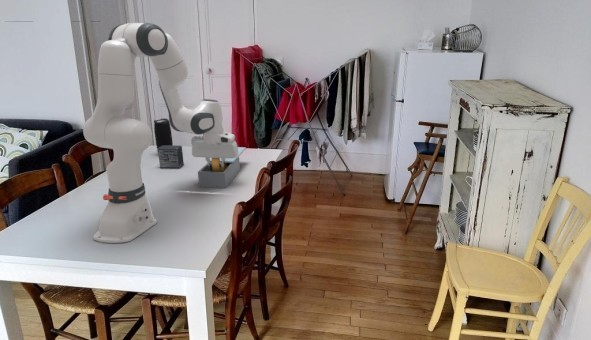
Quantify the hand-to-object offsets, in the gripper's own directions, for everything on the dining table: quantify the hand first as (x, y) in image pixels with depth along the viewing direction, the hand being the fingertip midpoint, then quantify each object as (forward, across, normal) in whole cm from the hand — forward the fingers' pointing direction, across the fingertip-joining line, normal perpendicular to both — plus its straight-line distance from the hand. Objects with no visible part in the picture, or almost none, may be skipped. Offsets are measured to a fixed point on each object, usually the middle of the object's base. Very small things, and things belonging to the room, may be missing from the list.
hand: (216, 166), depth 182 cm
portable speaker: (+9, -43, +38) cm, 58 cm away
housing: (+8, 0, +4) cm, 9 cm away
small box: (+9, -31, +20) cm, 38 cm away
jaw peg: (+2, 0, 0) cm, 2 cm away
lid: (0, 0, +16) cm, 16 cm away
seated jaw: (+7, 0, +9) cm, 11 cm away
